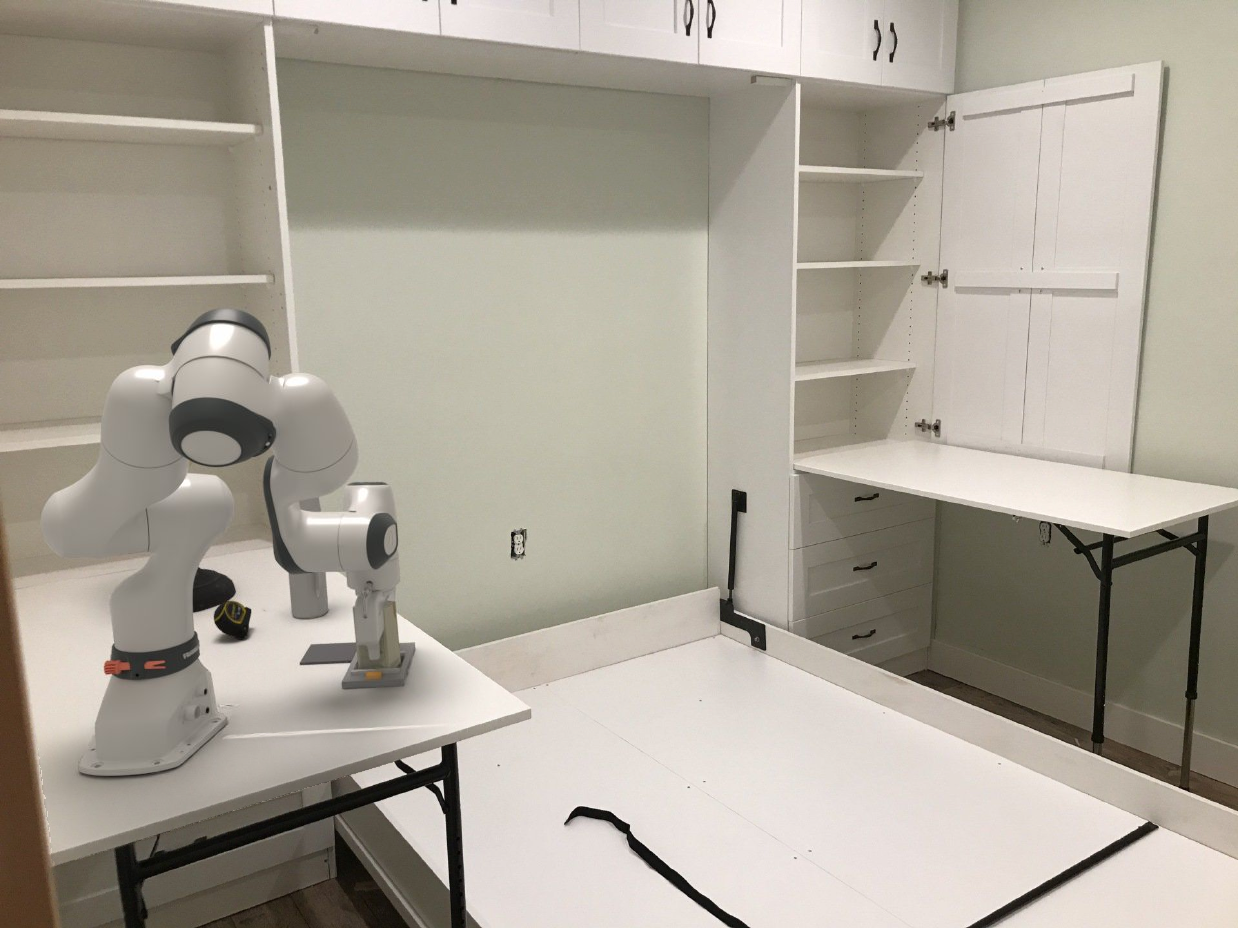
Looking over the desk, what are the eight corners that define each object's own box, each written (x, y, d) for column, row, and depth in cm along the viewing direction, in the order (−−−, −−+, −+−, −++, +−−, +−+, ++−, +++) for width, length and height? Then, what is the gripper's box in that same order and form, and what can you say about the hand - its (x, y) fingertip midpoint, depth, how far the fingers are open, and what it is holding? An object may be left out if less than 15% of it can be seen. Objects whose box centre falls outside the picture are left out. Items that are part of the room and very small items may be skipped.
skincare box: (402, 667, 171) (398, 600, 169) (389, 677, 167) (385, 608, 165) (369, 664, 173) (364, 597, 170) (356, 673, 169) (351, 605, 166)
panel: (403, 685, 163) (402, 675, 163) (342, 688, 162) (341, 678, 162) (415, 648, 180) (414, 639, 180) (359, 650, 179) (359, 641, 179)
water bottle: (283, 615, 199) (274, 495, 195) (319, 606, 205) (310, 488, 200) (305, 625, 193) (295, 501, 188) (341, 616, 198) (333, 495, 194)
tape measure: (239, 645, 186) (251, 633, 185) (206, 629, 183) (218, 617, 182) (244, 620, 192) (255, 608, 191) (213, 604, 188) (224, 592, 187)
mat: (351, 662, 174) (351, 660, 174) (299, 664, 173) (299, 662, 173) (360, 644, 182) (360, 641, 182) (311, 646, 182) (310, 644, 182)
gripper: (383, 591, 157) (387, 673, 159) (400, 556, 177) (404, 629, 179) (342, 593, 156) (348, 675, 159) (364, 558, 176) (369, 631, 179)
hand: (378, 650), depth 169 cm, fingers closed on skincare box, 5 cm apart
